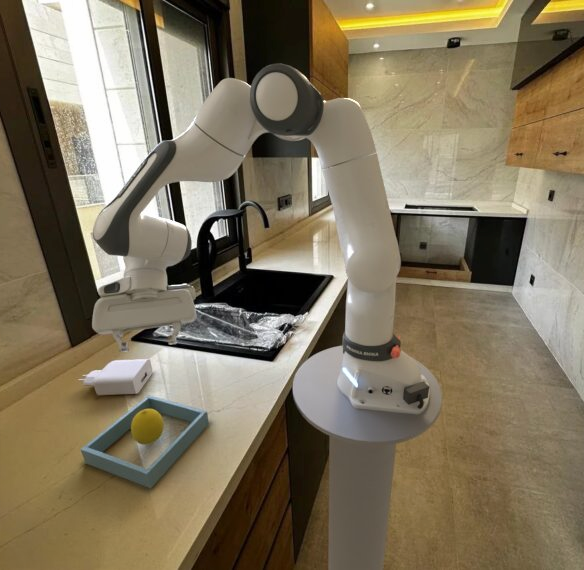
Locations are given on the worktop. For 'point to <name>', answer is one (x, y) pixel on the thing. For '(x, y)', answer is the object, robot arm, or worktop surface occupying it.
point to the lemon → (147, 426)
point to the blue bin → (164, 461)
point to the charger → (120, 377)
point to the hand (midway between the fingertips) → (148, 347)
